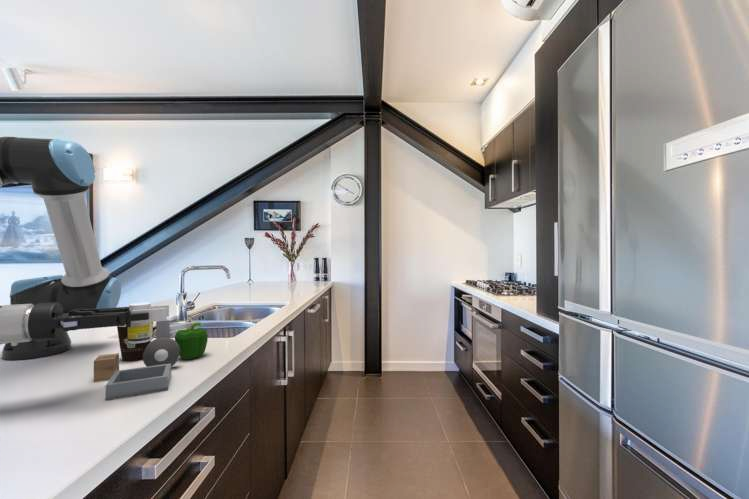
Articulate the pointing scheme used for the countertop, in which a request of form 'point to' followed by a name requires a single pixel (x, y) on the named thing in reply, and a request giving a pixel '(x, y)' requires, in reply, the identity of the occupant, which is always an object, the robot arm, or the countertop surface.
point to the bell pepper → (192, 341)
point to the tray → (138, 381)
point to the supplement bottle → (140, 326)
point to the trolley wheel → (161, 347)
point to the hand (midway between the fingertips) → (167, 312)
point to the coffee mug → (130, 346)
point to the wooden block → (105, 366)
